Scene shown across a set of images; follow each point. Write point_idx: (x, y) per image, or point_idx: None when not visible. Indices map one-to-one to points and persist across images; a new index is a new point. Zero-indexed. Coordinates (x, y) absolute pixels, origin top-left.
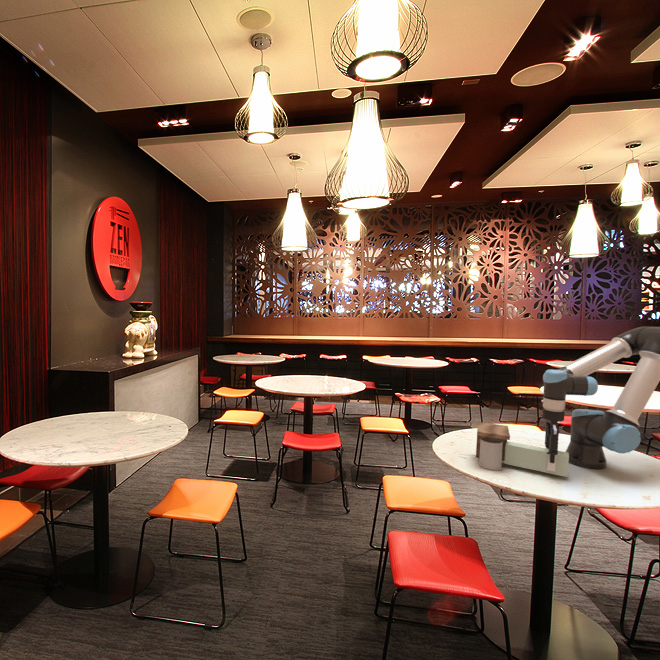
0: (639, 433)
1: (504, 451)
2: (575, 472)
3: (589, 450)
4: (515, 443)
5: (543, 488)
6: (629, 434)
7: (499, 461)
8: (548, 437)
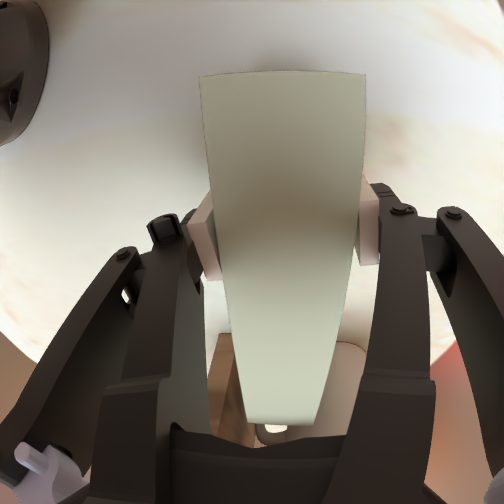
0: None
1: (232, 373)
2: (138, 51)
3: None
4: (259, 406)
5: (481, 203)
6: None
7: (359, 372)
8: (200, 367)
